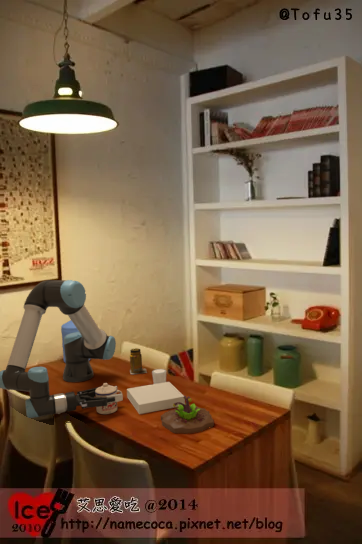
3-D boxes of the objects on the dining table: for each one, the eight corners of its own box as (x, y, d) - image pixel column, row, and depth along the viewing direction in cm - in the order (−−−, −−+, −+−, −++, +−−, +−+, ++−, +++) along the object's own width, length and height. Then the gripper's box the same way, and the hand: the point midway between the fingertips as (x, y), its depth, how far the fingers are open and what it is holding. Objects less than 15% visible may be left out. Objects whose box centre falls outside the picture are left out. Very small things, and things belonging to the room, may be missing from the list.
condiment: (129, 370, 251) (128, 348, 250) (145, 368, 253) (144, 346, 251) (130, 374, 244) (129, 352, 243) (147, 373, 246) (145, 350, 244)
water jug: (57, 361, 272) (54, 313, 269) (80, 354, 284) (76, 308, 281) (74, 366, 262) (71, 316, 259) (97, 358, 274) (93, 311, 271)
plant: (172, 438, 174) (171, 409, 172) (155, 418, 192) (154, 391, 190) (222, 427, 181) (221, 399, 179) (201, 409, 199) (200, 383, 197)
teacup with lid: (102, 416, 194) (100, 389, 193) (92, 409, 202) (90, 383, 200) (127, 408, 201) (126, 382, 200) (117, 402, 209) (116, 376, 207)
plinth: (127, 397, 214) (126, 388, 213) (169, 389, 221) (168, 381, 220) (139, 414, 195) (138, 404, 195) (184, 405, 202) (184, 396, 202)
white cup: (169, 383, 230) (168, 369, 229) (164, 388, 223) (163, 373, 222) (155, 382, 232) (155, 368, 231) (150, 387, 225) (149, 372, 225)
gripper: (63, 401, 205) (114, 393, 212) (69, 421, 184) (126, 410, 192) (61, 385, 204) (113, 376, 211) (68, 402, 184) (125, 393, 191)
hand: (119, 393), depth 202 cm, fingers closed on teacup with lid, 9 cm apart
